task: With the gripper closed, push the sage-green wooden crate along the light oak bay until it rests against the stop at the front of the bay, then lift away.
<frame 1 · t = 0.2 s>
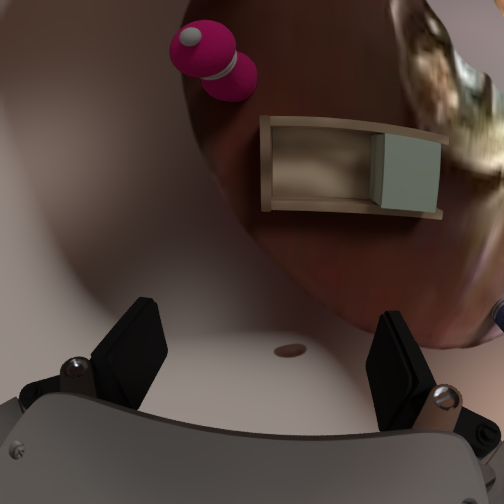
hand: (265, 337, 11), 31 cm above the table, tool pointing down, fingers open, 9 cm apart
bay: (354, 164, 36), on the table
pill bottle: (498, 308, 41), on the table
pepper mill: (235, 82, 34), on the table
crate: (403, 171, 31), point 5 cm above the table, slide at 0.0 cm
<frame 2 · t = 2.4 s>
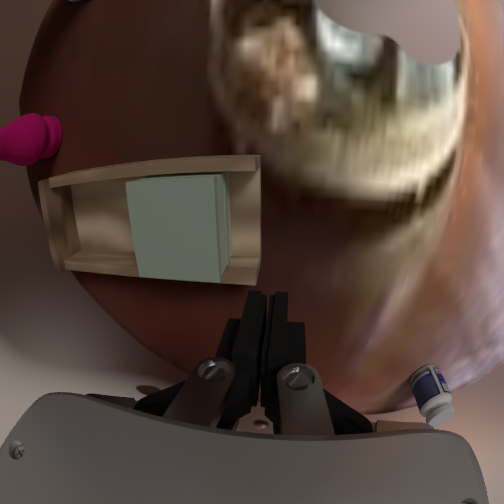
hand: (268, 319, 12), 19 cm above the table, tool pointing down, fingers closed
bay: (150, 211, 30), on the table
pill bottle: (423, 374, 36), on the table
pepper mill: (50, 136, 28), on the table
crate: (183, 222, 26), point 5 cm above the table, slide at 0.0 cm
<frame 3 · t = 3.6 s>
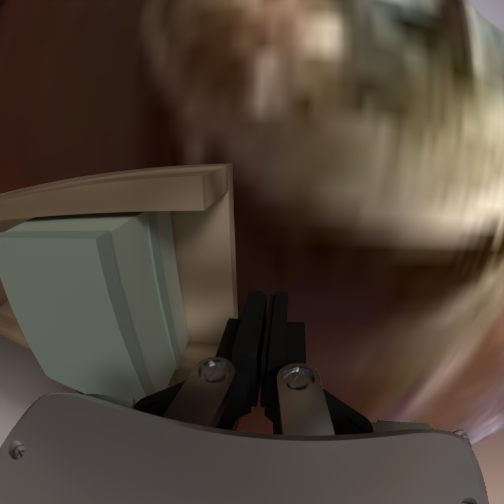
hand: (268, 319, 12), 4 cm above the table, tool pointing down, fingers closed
bay: (69, 259, 17), on the table
crate: (92, 299, 12), point 4 cm above the table, slide at 0.0 cm
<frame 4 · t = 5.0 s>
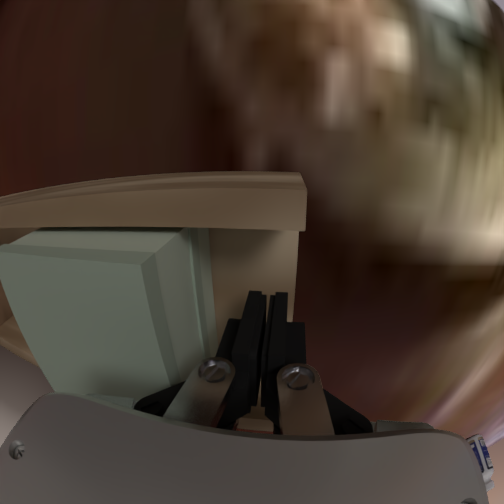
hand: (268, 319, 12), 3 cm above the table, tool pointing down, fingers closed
bay: (92, 271, 16), on the table
pill bottle: (464, 443, 21), on the table
crate: (116, 321, 11), point 5 cm above the table, slide at 1.0 cm, touching gripper
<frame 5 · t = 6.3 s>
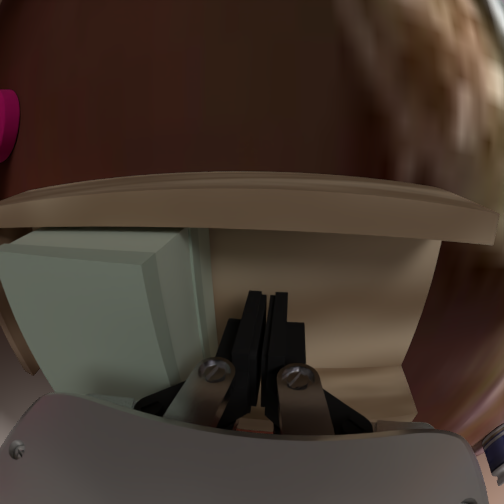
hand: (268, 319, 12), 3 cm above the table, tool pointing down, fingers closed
bay: (192, 281, 15), on the table
pill bottle: (495, 431, 20), on the table
pepper mill: (4, 125, 13), on the table
crate: (116, 321, 11), point 4 cm above the table, slide at 8.4 cm, touching gripper
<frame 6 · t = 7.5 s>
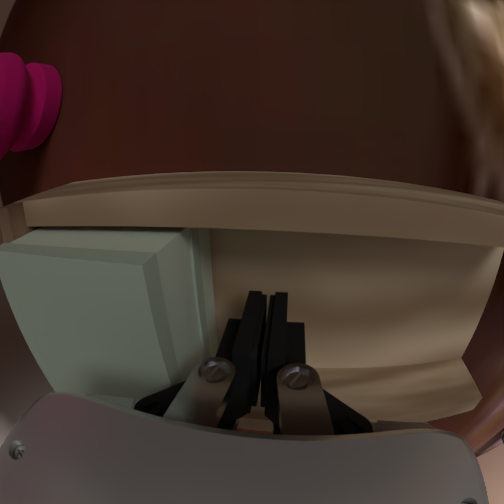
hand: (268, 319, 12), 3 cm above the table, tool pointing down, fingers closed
bay: (288, 287, 14), on the table
pepper mill: (38, 106, 12), on the table
crate: (116, 321, 11), point 5 cm above the table, slide at 13.7 cm, touching bay, gripper
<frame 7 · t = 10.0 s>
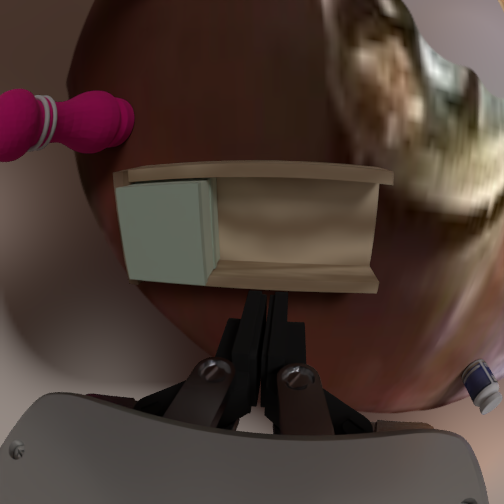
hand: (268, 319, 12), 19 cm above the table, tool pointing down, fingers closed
bay: (254, 216, 29), on the table
pill bottle: (472, 368, 34), on the table
pepper mill: (115, 122, 27), on the table
crate: (171, 226, 26), point 5 cm above the table, slide at 13.7 cm, touching bay
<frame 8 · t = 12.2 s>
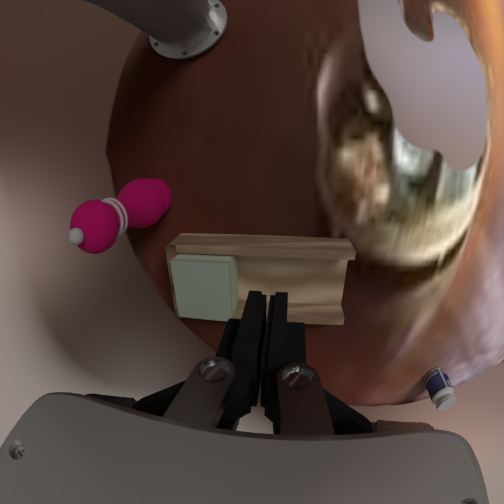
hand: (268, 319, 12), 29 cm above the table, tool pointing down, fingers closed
bay: (262, 271, 43), on the table
pill bottle: (433, 374, 48), on the table
pepper mill: (155, 196, 41), on the table
crate: (207, 282, 40), point 5 cm above the table, slide at 13.7 cm, touching bay
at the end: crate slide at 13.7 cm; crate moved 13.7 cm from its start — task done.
